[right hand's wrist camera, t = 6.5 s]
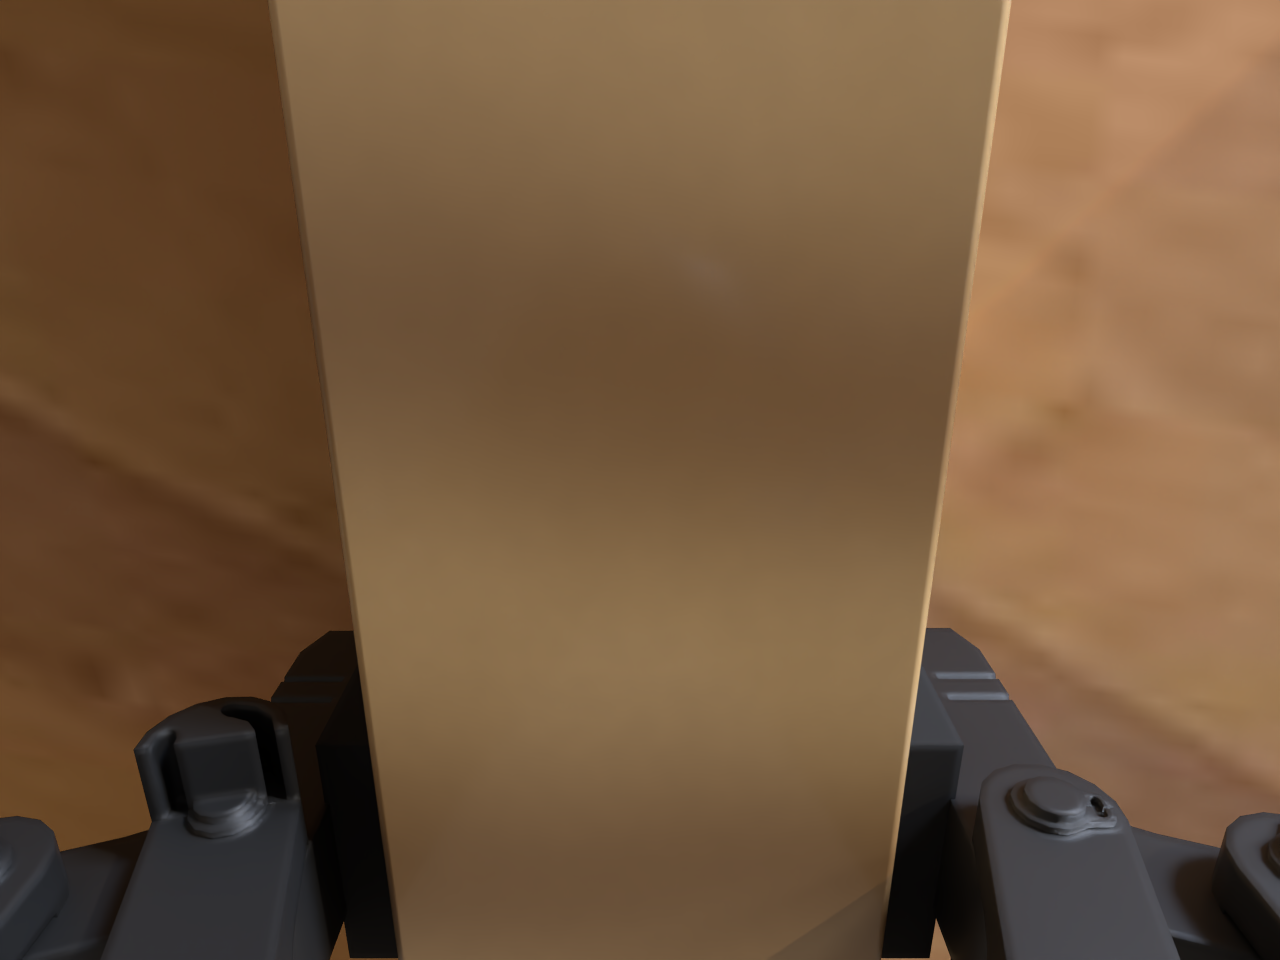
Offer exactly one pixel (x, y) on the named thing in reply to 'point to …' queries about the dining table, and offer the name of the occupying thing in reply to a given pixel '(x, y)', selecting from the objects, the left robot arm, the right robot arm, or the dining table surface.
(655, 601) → the post
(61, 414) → the dining table surface
